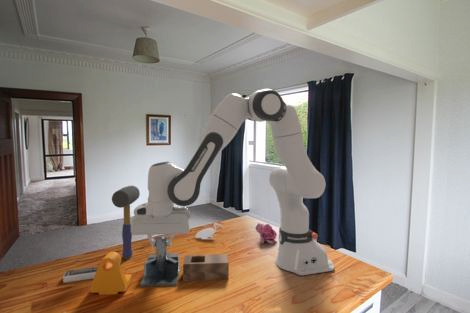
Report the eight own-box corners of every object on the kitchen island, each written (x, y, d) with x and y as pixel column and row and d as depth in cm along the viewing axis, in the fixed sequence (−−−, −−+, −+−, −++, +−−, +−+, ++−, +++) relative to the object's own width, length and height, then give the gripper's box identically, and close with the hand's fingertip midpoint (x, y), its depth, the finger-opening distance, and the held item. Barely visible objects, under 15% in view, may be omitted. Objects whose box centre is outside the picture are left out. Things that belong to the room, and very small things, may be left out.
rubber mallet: (130, 265, 102) (129, 190, 100) (111, 265, 102) (109, 189, 100) (141, 251, 114) (141, 184, 112) (125, 251, 114) (123, 184, 112)
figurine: (223, 238, 132) (223, 221, 131) (223, 241, 127) (223, 224, 127) (195, 238, 131) (195, 221, 130) (194, 241, 126) (194, 224, 126)
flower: (278, 247, 127) (282, 235, 121) (260, 251, 124) (262, 239, 118) (270, 228, 135) (273, 216, 129) (252, 232, 133) (254, 219, 127)
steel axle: (167, 264, 95) (167, 235, 94) (166, 269, 91) (165, 239, 90) (156, 264, 94) (156, 235, 94) (154, 270, 90) (154, 239, 90)
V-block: (180, 267, 100) (180, 252, 100) (176, 285, 88) (176, 268, 88) (148, 269, 99) (148, 253, 98) (140, 286, 87) (140, 269, 87)
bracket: (132, 281, 90) (131, 248, 89) (125, 293, 83) (124, 257, 82) (100, 282, 89) (99, 248, 89) (90, 295, 82) (89, 258, 81)
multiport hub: (109, 276, 94) (109, 270, 94) (62, 283, 89) (62, 276, 89) (110, 270, 98) (110, 264, 98) (66, 276, 93) (66, 270, 93)
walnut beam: (227, 269, 99) (227, 254, 99) (228, 279, 92) (228, 262, 92) (185, 270, 98) (185, 255, 97) (183, 280, 91) (183, 264, 90)
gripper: (191, 204, 95) (191, 241, 96) (134, 205, 94) (134, 242, 94) (189, 209, 89) (189, 248, 90) (128, 210, 87) (129, 250, 88)
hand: (161, 245), depth 92 cm, fingers closed on steel axle, 4 cm apart
